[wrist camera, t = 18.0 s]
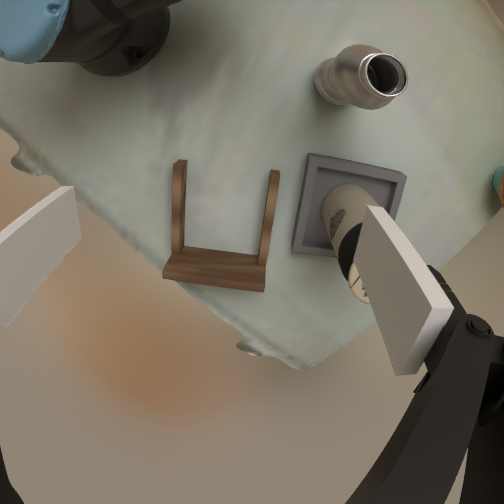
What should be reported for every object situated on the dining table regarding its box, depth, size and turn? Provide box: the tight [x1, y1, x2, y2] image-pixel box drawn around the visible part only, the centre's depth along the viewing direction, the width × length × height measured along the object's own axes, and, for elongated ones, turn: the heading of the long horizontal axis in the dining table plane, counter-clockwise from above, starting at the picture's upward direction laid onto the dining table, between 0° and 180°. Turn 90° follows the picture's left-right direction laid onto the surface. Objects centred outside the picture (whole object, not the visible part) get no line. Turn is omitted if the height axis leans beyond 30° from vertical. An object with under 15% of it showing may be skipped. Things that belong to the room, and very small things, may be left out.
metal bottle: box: [314, 44, 408, 110], centre depth 28 cm, size 6×7×20 cm
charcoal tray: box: [291, 153, 407, 258], centre depth 44 cm, size 14×14×2 cm
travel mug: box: [321, 184, 380, 304], centre depth 37 cm, size 8×8×18 cm
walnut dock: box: [162, 159, 280, 292], centre depth 44 cm, size 15×14×8 cm
